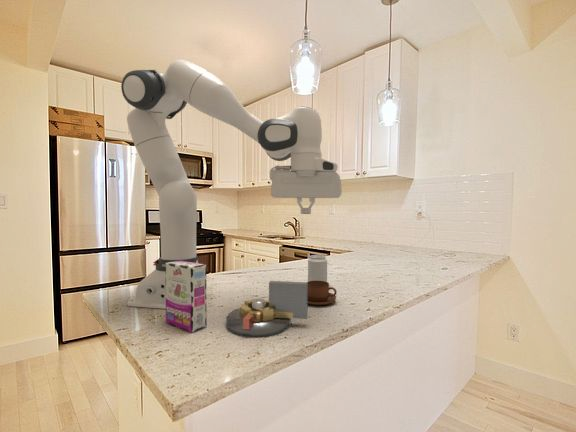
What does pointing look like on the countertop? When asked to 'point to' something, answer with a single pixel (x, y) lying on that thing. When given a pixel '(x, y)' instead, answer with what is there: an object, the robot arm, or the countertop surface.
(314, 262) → the can
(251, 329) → the cap plate
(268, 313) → the gray slab gold ring
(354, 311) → the countertop surface
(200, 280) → the candy bar box
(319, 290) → the cup and saucer
